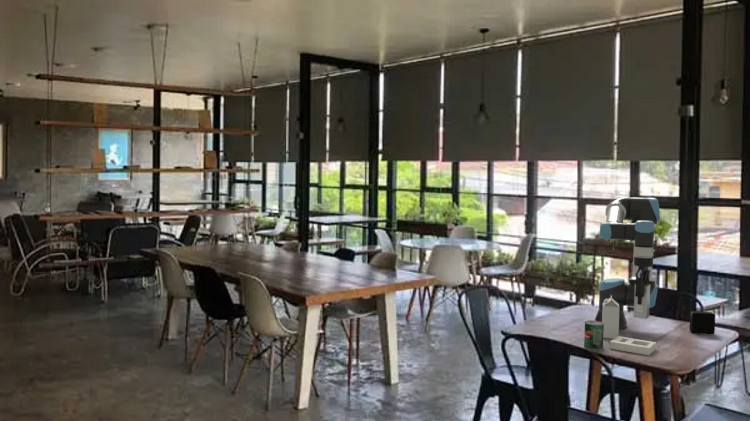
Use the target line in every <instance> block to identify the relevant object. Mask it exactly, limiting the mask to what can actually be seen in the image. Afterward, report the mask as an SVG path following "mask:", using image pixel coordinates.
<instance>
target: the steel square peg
mask: <svg viewBox="0 0 750 421" xmlns="http://www.w3.org/2000/svg"><path fill="white" fill-rule="evenodd" d="M635 292H636V284H635ZM643 297H644V308H643V312H636V304H637V296H635V294H634V306H633V318H637V319H642V320H643V319H645V320H646V319H649V318H650V308H649V306H650V285H649V284H644V293H643Z"/></svg>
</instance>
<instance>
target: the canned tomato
mask: <svg viewBox="0 0 750 421" xmlns="http://www.w3.org/2000/svg"><path fill="white" fill-rule="evenodd" d="M603 334H604V323H603V322H600V321H595V320H591V319H590V320H585V321H584V336H583V337H584V338H583V341H584V342H583V343H584V345H583V347H584V348H585V349H588V350H592V351H601V350H603V349H604V338H603Z"/></svg>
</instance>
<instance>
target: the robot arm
mask: <svg viewBox="0 0 750 421" xmlns="http://www.w3.org/2000/svg"><path fill="white" fill-rule="evenodd" d="M605 216H606V219H605V221H604V222H603V221H602V222H601V223H600V224H599V238H600V239H603V240H618V241H619V240H621V241H633V259H632V260H633V261H632V262H633V264H632V276H631V277H630V278H629V280H628V281H629V282H626V280H625V279H624V278H617V277H616V278H606V279H603V280H601V281H600V282H599V288H598V291H599V294H598V296H599V297H598V298H599V299H598V309H597V313H596V314H595V315H596V316H595V318H594V321H600V322H602V310H603V303H604V300H605V299H609V298H611V296H612V299H613V300H615V301H616V302H617V303H618V304H619V329H624V328H627V326H628V321H627V318H626V316H625V315H626V314H625V312H624V310H625V307H634V294H635V296H637V304H636V312H643V308H644V297H643V293H644V284H649V285H650V306H649V309H651V308H653V307H655V305H656V300H657V295H658V289H659V285H658V284H657V283H656V280H655V279H654V278H653V277H652V276H653V265H654V258H653V257H654V252H656V250H655V249H654V243H655V242H654V241H655V228H656V227H657V225H658V222H660V221H661V210H660V203H659V200H658V199H657V198H656V197H649V196H648V197H643V196H642V197H641V196H640V197H637V196H633V197H631V196H623V197H618V198H616V199H614V200H612V201H611V202H610V203H608V204H607V206H606V208H605ZM624 221H631V222H630V223H627V222H626V223H625V222H624ZM635 284H636V292H635Z"/></svg>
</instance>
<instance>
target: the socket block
mask: <svg viewBox="0 0 750 421" xmlns="http://www.w3.org/2000/svg"><path fill="white" fill-rule="evenodd" d="M609 349H610V350H611V349H612V350H617V351H621V352H622V351H623V352H629V353H633V354H638V355H639V354H640V355H645V356H650V355H651V354H653V352H655V351H656V350H657V341H649V340H643V339H640V338H639V339H638V338H631V337H628V336H627V337H626V336H619V335H618V337H616V338H615V339H612V340H610V341H609Z"/></svg>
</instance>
